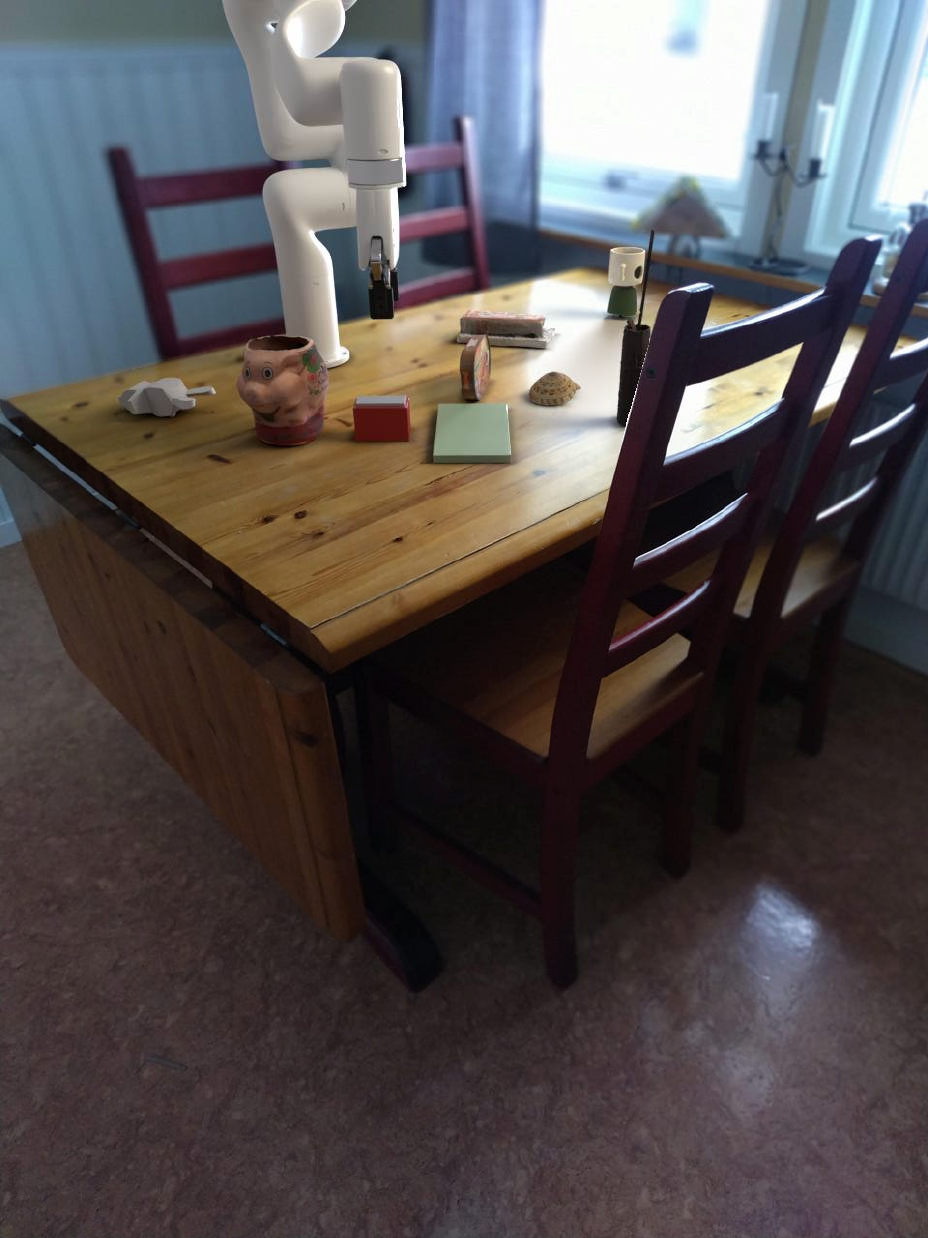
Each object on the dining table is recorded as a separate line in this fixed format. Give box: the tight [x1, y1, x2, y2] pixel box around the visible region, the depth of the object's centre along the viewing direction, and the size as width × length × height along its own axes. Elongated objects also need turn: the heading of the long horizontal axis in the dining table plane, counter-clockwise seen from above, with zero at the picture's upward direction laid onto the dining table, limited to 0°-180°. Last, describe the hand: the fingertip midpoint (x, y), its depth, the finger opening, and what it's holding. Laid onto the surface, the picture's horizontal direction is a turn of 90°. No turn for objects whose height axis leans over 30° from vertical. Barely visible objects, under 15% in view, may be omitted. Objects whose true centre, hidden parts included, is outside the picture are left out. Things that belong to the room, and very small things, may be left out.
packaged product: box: [456, 309, 556, 349], centre depth 166 cm, size 18×5×10 cm
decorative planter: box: [236, 334, 330, 446], centre depth 127 cm, size 20×12×14 cm, turn 168°
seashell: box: [527, 371, 582, 406], centre depth 141 cm, size 8×6×8 cm
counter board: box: [432, 403, 512, 464], centre depth 128 cm, size 11×20×1 cm, turn 179°
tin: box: [459, 334, 492, 401], centre depth 142 cm, size 15×3×8 cm, turn 168°
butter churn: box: [616, 229, 655, 428], centre depth 125 cm, size 9×10×28 cm
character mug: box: [606, 246, 646, 318], centre depth 177 cm, size 11×7×13 cm, turn 161°
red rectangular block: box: [352, 395, 412, 442], centre depth 127 cm, size 4×8×6 cm, turn 89°
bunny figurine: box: [117, 377, 217, 418], centre depth 136 cm, size 10×5×15 cm
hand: (385, 309), depth 120 cm, fingers open, 9 cm apart
